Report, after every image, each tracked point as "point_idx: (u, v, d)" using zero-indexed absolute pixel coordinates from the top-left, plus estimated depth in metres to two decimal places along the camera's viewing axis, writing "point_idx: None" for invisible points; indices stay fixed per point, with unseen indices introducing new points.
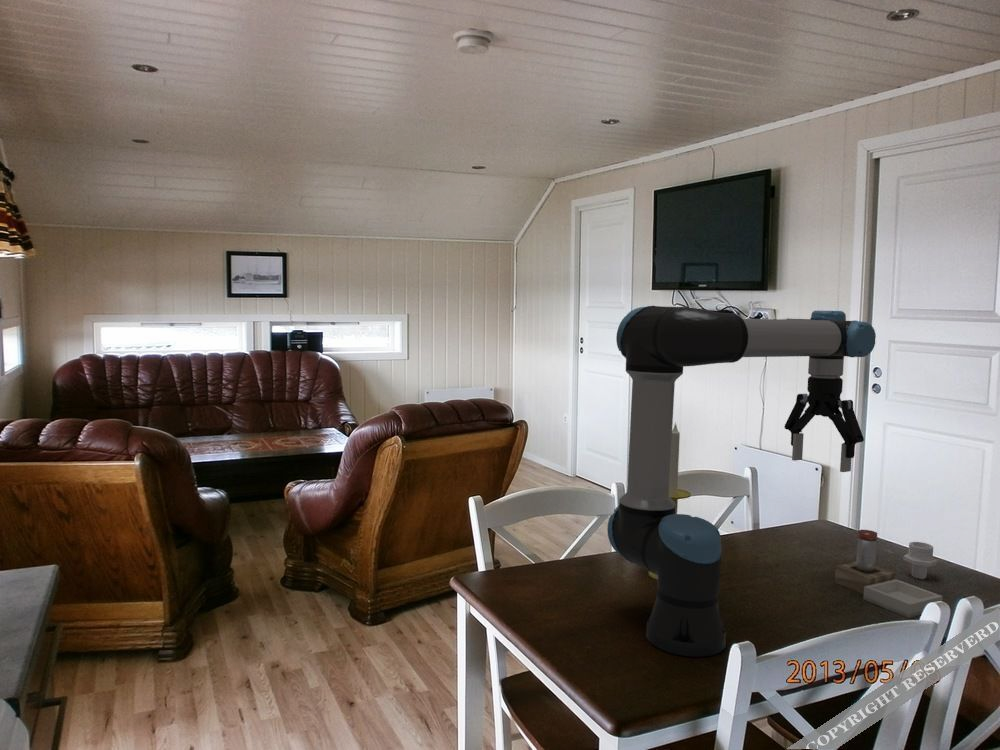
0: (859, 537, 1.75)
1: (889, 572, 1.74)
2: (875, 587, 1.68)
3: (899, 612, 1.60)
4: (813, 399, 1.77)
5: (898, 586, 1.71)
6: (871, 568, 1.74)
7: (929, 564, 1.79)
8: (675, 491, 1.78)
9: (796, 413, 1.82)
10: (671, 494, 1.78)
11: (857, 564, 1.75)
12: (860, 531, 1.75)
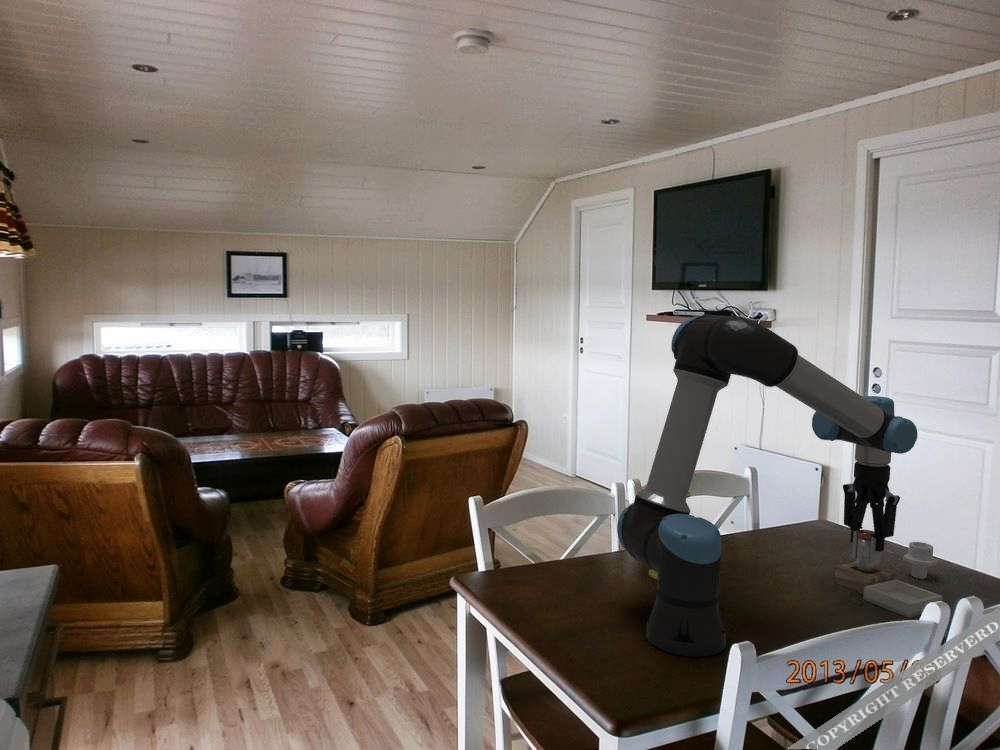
0: (859, 537, 1.75)
1: (889, 572, 1.74)
2: (875, 587, 1.68)
3: (899, 612, 1.60)
4: (859, 483, 1.75)
5: (898, 586, 1.71)
6: (871, 568, 1.74)
7: (929, 564, 1.79)
8: None
9: (849, 505, 1.78)
10: None
11: (857, 564, 1.75)
12: (860, 531, 1.75)
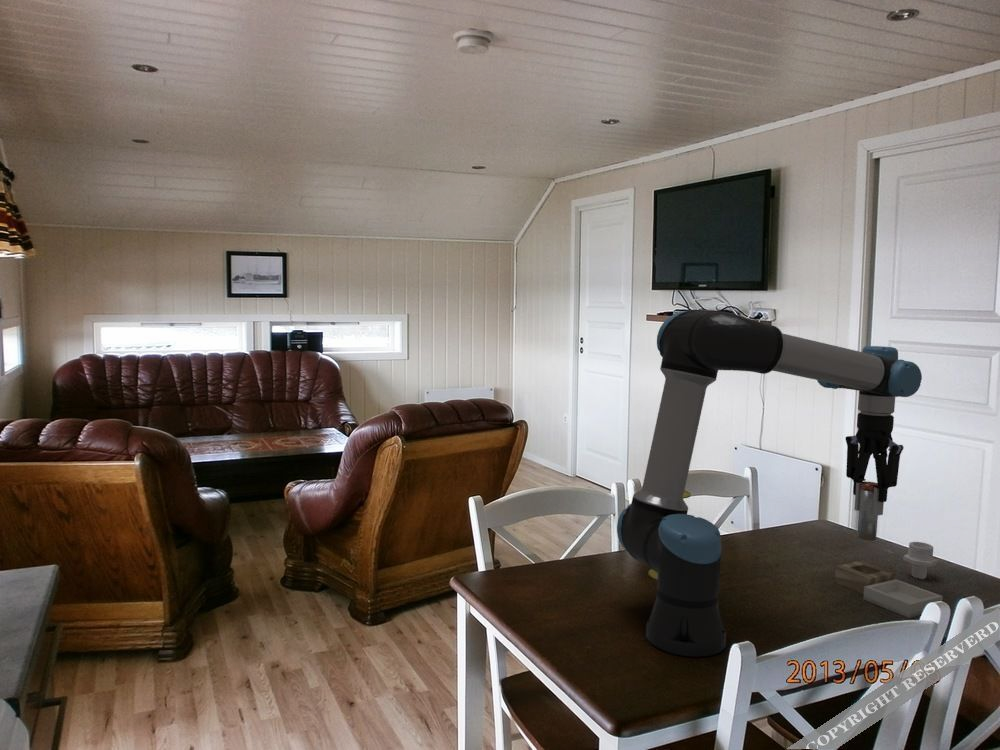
0: (862, 488, 1.74)
1: (889, 572, 1.74)
2: (875, 587, 1.68)
3: (899, 612, 1.60)
4: (862, 434, 1.74)
5: (898, 586, 1.71)
6: (873, 519, 1.72)
7: (929, 564, 1.79)
8: None
9: (852, 457, 1.77)
10: None
11: (860, 516, 1.74)
12: (863, 482, 1.74)
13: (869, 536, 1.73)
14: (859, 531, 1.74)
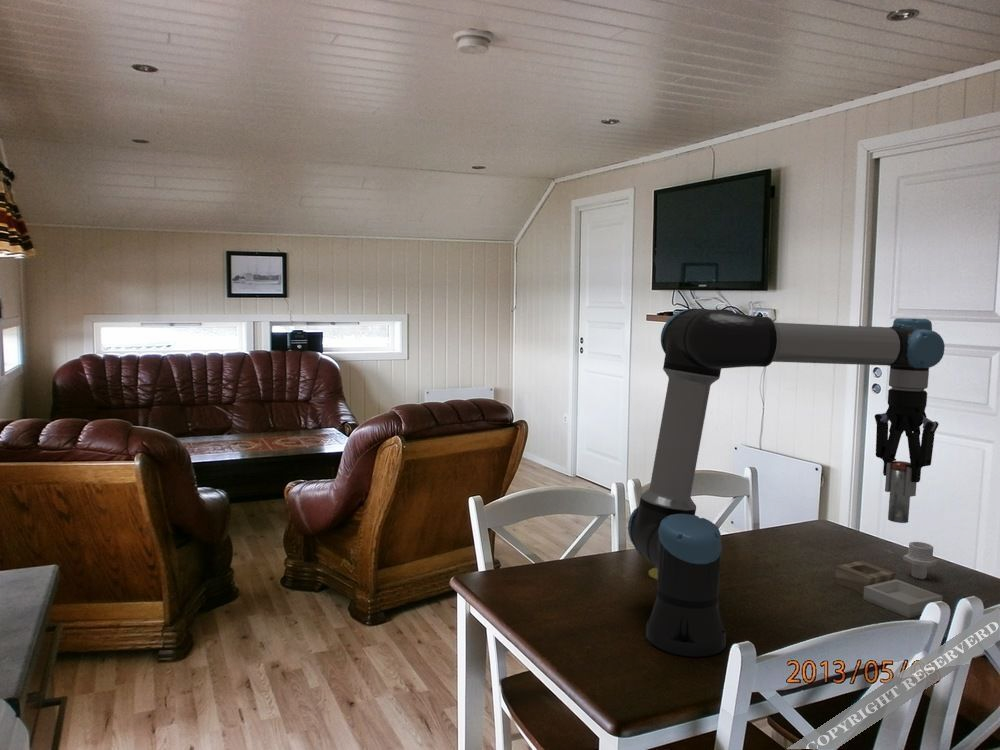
0: (893, 468, 1.65)
1: (889, 572, 1.74)
2: (875, 587, 1.68)
3: (899, 612, 1.60)
4: (893, 411, 1.65)
5: (898, 586, 1.71)
6: (906, 500, 1.64)
7: (929, 564, 1.79)
8: None
9: (882, 435, 1.68)
10: None
11: (891, 497, 1.65)
12: (894, 462, 1.65)
13: (901, 518, 1.64)
14: (890, 513, 1.66)
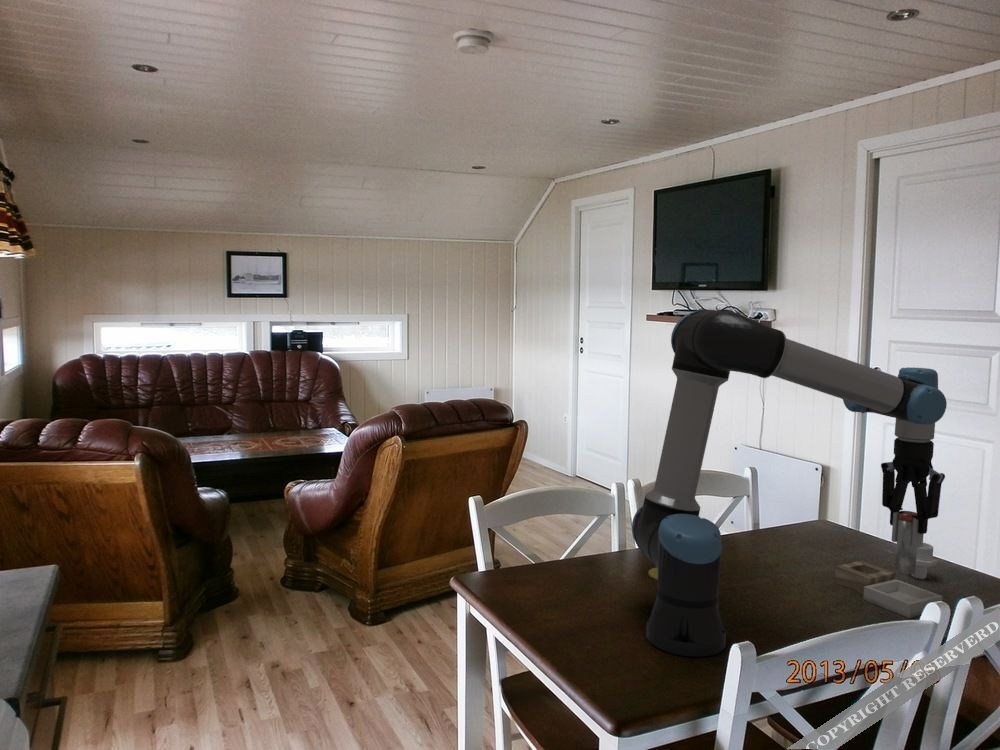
0: (900, 518, 1.63)
1: (889, 572, 1.74)
2: (875, 587, 1.68)
3: (899, 612, 1.60)
4: (899, 460, 1.64)
5: (898, 586, 1.71)
6: (913, 551, 1.62)
7: (929, 564, 1.79)
8: None
9: (888, 484, 1.67)
10: None
11: (898, 547, 1.64)
12: (901, 512, 1.64)
13: (909, 570, 1.63)
14: (897, 564, 1.64)
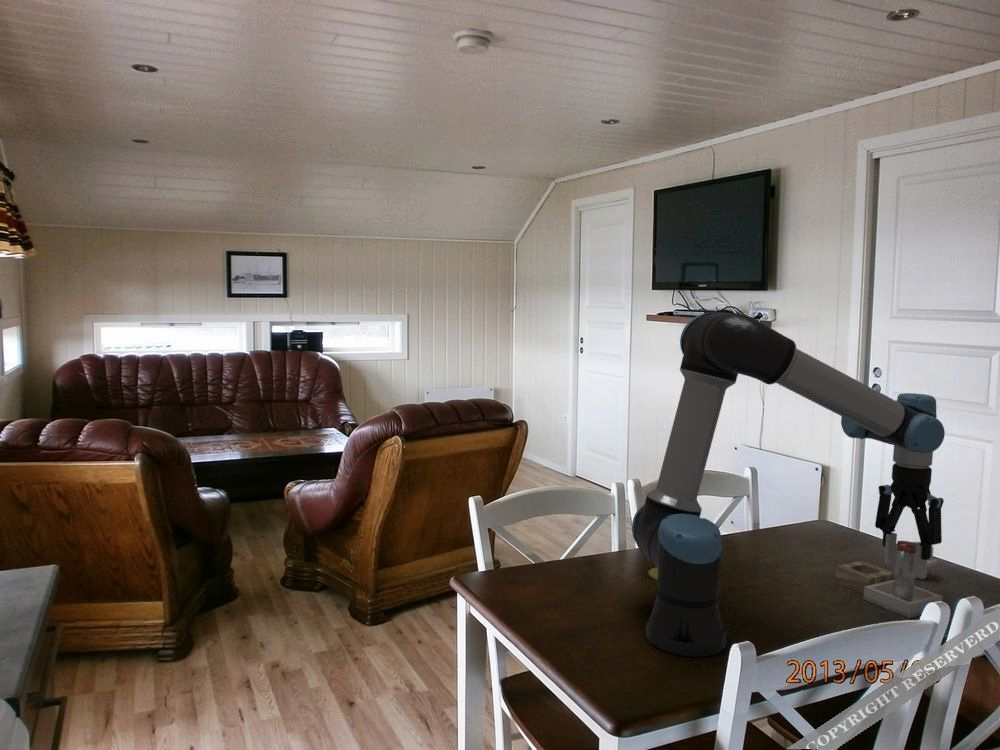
0: (898, 549, 1.64)
1: (889, 572, 1.74)
2: (875, 587, 1.68)
3: (899, 612, 1.60)
4: (897, 486, 1.64)
5: None
6: (910, 582, 1.63)
7: (929, 564, 1.79)
8: None
9: (884, 507, 1.68)
10: None
11: (895, 577, 1.65)
12: (899, 542, 1.65)
13: (906, 600, 1.63)
14: (894, 593, 1.65)
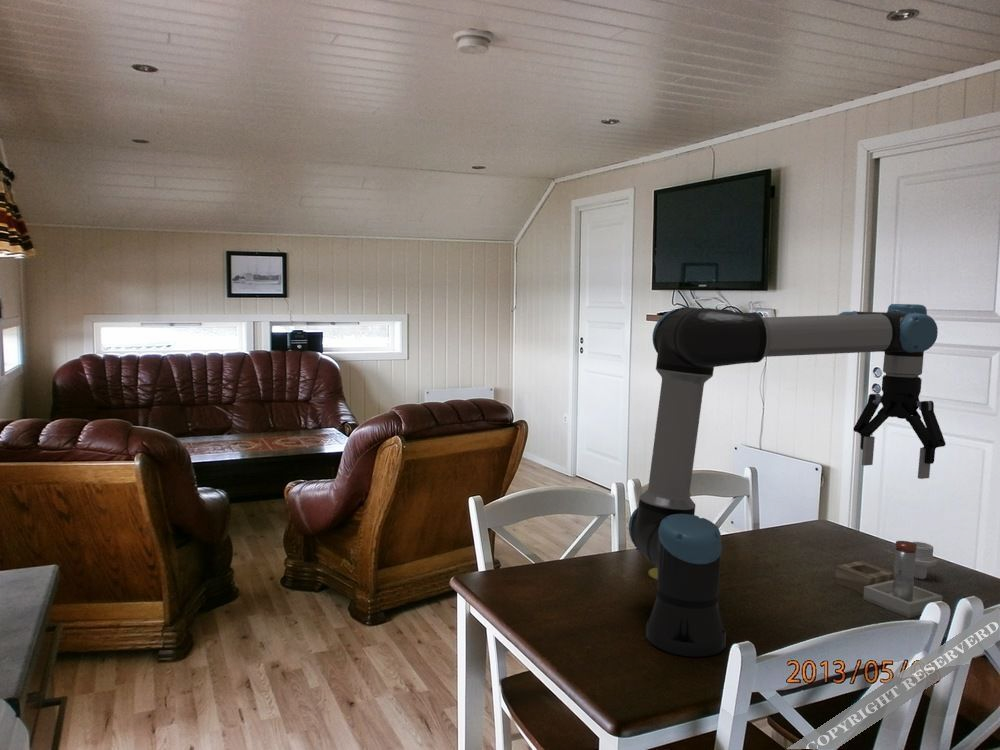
0: (897, 549, 1.64)
1: (889, 572, 1.74)
2: (875, 587, 1.68)
3: (899, 612, 1.60)
4: (888, 399, 1.64)
5: None
6: (910, 582, 1.63)
7: (929, 564, 1.79)
8: None
9: (867, 414, 1.69)
10: None
11: (895, 577, 1.65)
12: (898, 542, 1.65)
13: (906, 600, 1.63)
14: (894, 594, 1.65)
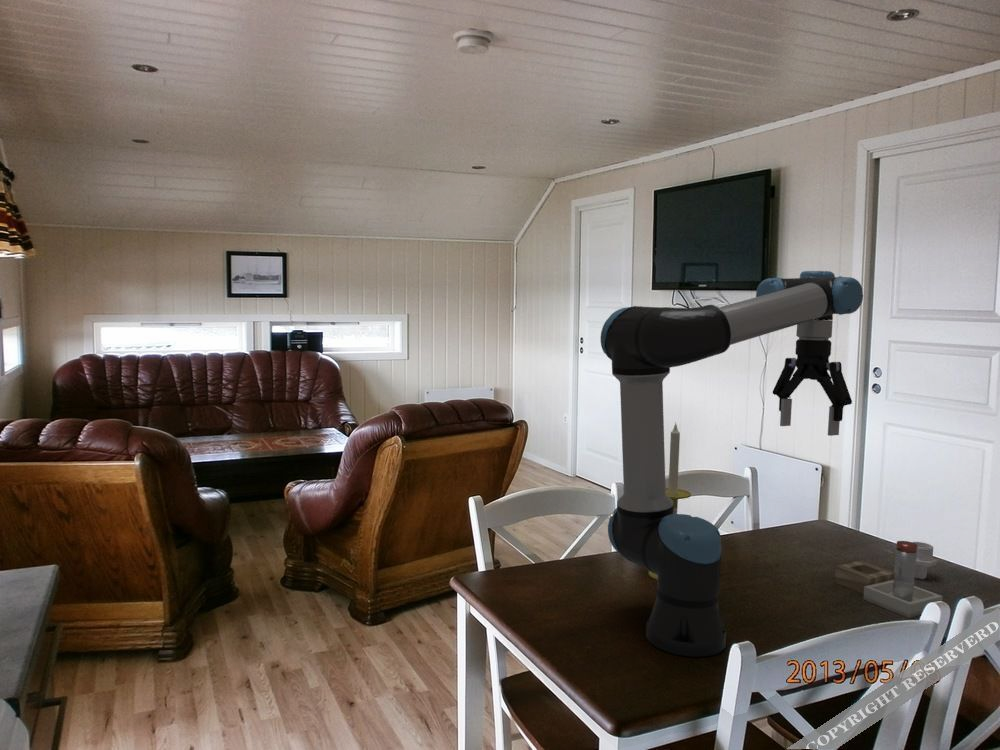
0: (898, 549, 1.64)
1: (889, 572, 1.74)
2: (875, 587, 1.68)
3: (899, 612, 1.60)
4: (801, 362, 1.73)
5: None
6: (910, 582, 1.63)
7: (929, 564, 1.79)
8: (675, 491, 1.78)
9: (784, 378, 1.78)
10: (671, 494, 1.78)
11: (895, 577, 1.65)
12: (899, 542, 1.65)
13: (906, 600, 1.63)
14: (894, 594, 1.65)
